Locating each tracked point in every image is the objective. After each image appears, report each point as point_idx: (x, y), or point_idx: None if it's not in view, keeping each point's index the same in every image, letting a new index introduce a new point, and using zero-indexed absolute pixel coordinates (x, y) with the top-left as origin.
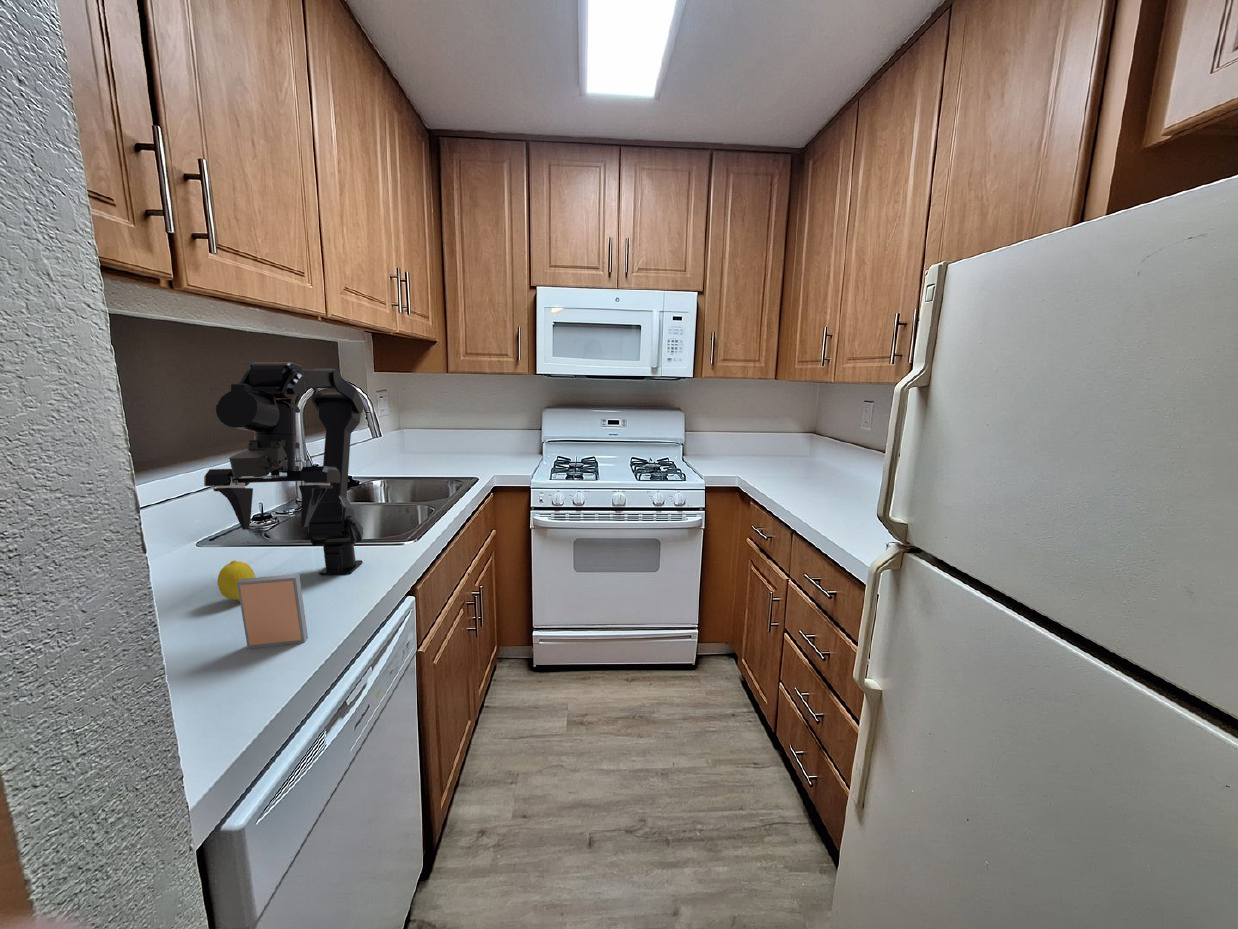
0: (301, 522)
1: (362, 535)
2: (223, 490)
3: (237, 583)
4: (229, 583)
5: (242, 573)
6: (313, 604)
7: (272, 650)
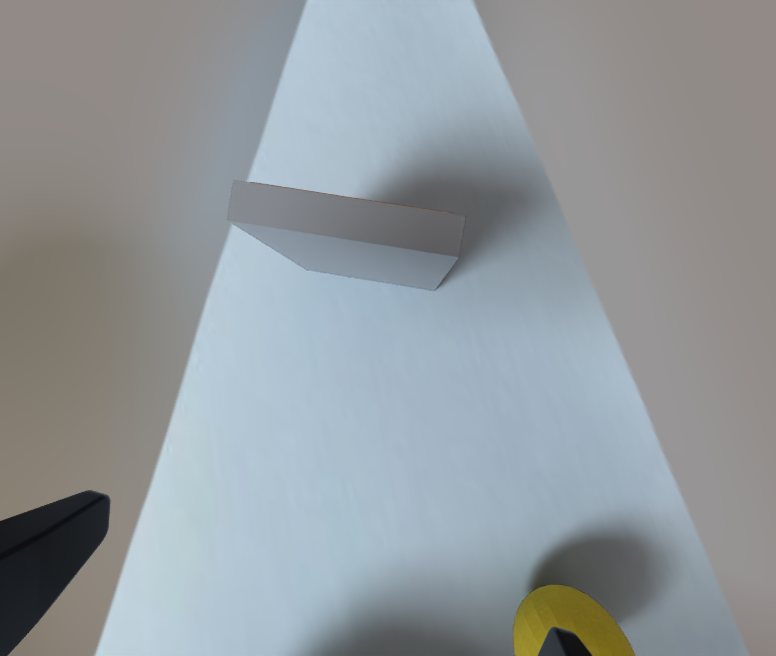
0: (73, 512)
1: None
2: None
3: (463, 217)
4: (585, 613)
5: None
6: (328, 482)
7: None
